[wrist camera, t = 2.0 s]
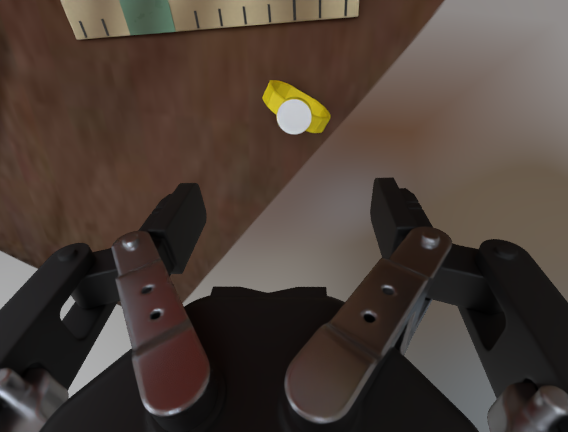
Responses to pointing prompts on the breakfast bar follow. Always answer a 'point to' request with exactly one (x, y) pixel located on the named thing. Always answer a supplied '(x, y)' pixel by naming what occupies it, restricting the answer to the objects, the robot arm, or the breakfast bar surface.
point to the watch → (295, 109)
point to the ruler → (193, 14)
